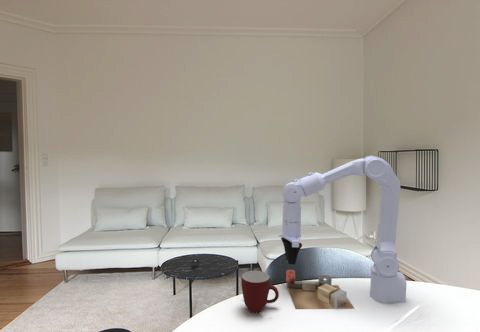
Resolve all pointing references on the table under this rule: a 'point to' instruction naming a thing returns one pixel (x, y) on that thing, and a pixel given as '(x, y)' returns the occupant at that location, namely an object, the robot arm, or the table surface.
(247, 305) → the mug
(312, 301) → the board
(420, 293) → the table surface
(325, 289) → the tan cube
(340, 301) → the brown grey rectangular block
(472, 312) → the table surface
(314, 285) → the lever
